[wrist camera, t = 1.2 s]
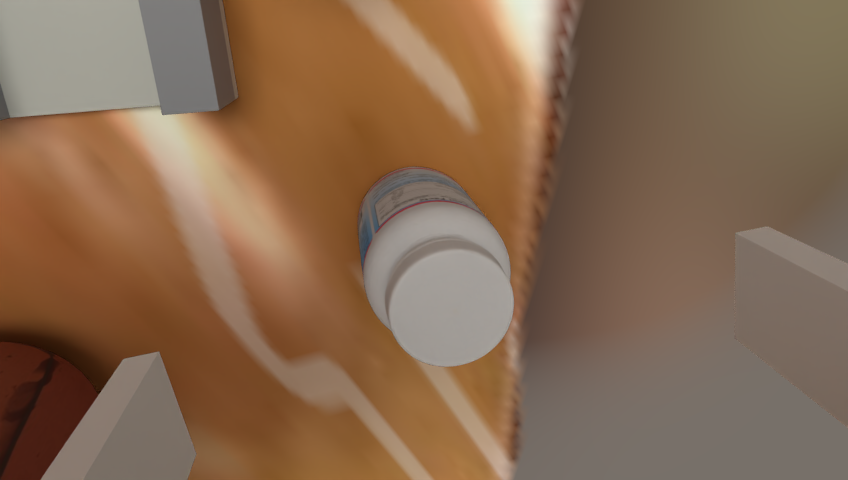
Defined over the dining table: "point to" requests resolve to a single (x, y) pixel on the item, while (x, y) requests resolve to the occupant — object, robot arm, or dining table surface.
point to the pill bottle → (434, 267)
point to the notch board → (114, 56)
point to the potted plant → (37, 408)
